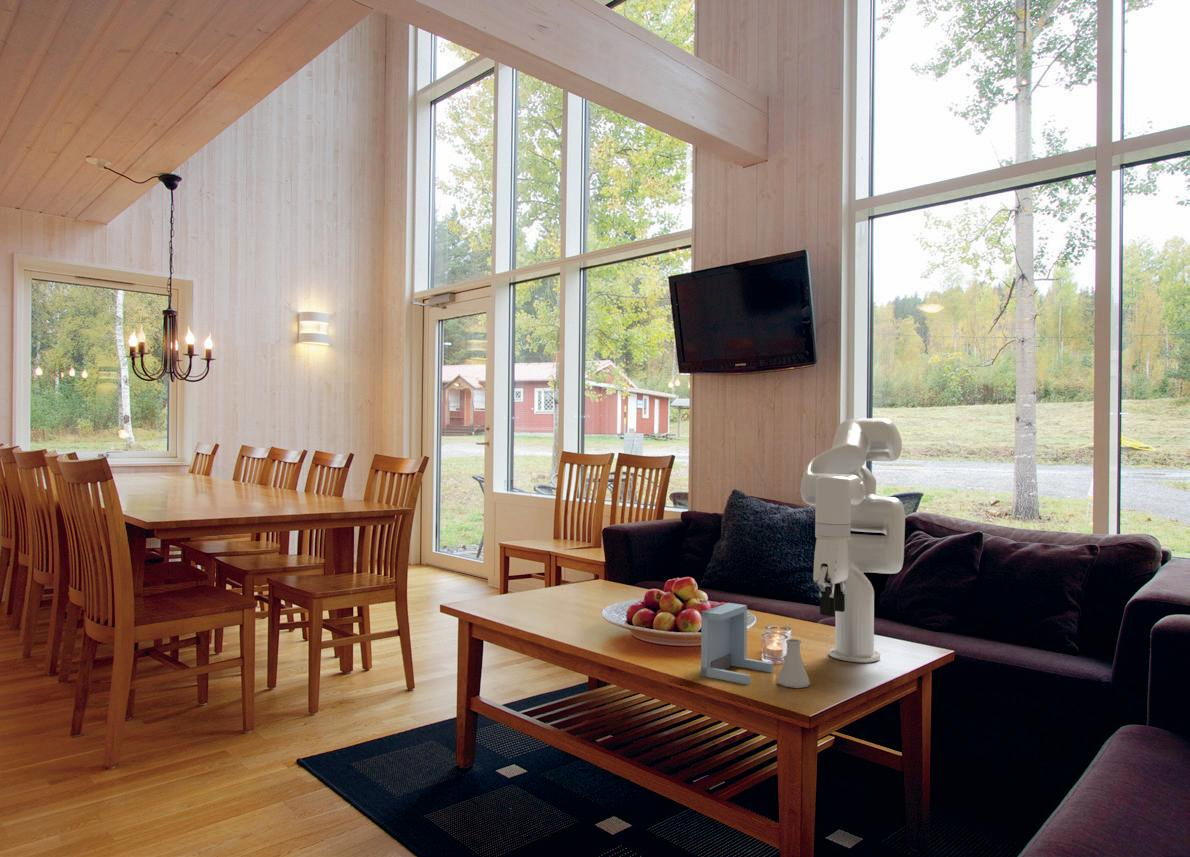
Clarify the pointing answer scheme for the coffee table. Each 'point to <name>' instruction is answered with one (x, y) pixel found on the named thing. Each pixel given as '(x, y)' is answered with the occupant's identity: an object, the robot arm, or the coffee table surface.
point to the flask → (793, 667)
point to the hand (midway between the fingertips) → (832, 612)
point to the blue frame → (727, 644)
